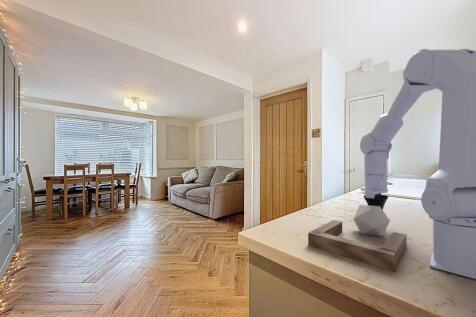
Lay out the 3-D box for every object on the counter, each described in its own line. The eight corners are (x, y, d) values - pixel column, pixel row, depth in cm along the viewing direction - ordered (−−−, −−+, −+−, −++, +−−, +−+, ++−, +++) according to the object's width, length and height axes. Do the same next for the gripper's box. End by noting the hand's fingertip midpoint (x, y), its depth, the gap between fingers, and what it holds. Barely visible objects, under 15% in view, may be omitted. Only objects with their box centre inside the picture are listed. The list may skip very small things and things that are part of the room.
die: (386, 233, 60) (364, 204, 65) (404, 227, 53) (378, 194, 58) (362, 244, 59) (342, 214, 64) (377, 239, 52) (353, 205, 57)
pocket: (406, 246, 49) (406, 234, 49) (394, 271, 38) (393, 255, 38) (333, 230, 61) (333, 219, 61) (308, 244, 50) (308, 232, 50)
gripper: (367, 173, 71) (367, 212, 71) (353, 175, 61) (354, 220, 61) (392, 173, 66) (393, 216, 66) (381, 176, 56) (382, 226, 56)
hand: (376, 218), depth 63 cm, fingers closed
